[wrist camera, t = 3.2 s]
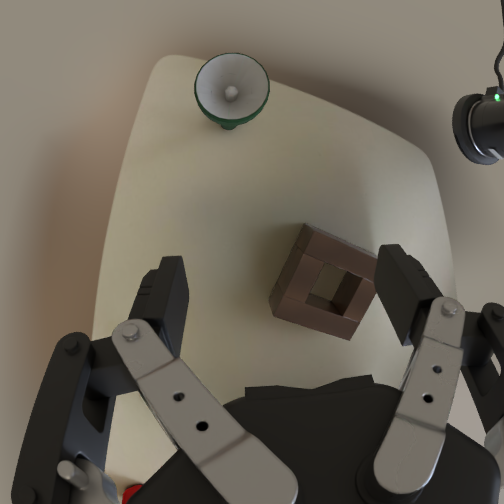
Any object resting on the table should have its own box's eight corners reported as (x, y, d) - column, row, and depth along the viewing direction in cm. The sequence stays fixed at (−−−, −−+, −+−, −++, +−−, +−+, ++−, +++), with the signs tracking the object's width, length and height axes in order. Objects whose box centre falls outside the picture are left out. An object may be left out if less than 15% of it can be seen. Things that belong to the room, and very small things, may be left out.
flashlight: (218, 148, 39) (211, 134, 20) (201, 112, 38) (181, 69, 18) (255, 132, 39) (283, 105, 20) (239, 96, 37) (252, 40, 18)
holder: (304, 222, 43) (314, 230, 38) (375, 254, 45) (390, 265, 40) (268, 300, 45) (273, 316, 40) (338, 324, 47) (349, 340, 42)
